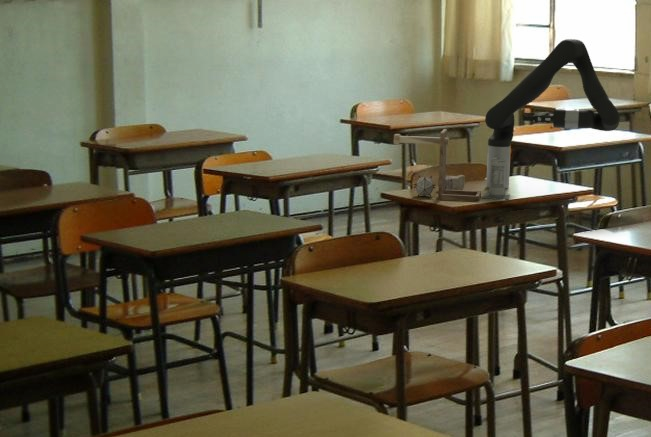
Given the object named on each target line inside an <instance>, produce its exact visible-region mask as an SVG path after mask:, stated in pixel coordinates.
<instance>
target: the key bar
mask: <svg viewBox="0 0 651 437" xmlns="http://www.w3.org/2000/svg"><path fill="white" fill-rule="evenodd" d="M449 143H450V138H449V137H447V138H445V140H444V145H446V146H447V145H449ZM400 144H417V145H418V144H420V145H421V144H423V145H440V137H439V136H438V137H437V136H436V137H435V136H413V135H402V134H400V133H394V134H393V145H400Z"/></svg>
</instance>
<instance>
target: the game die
mask: <svg viewBox="0 0 651 437" xmlns="http://www.w3.org/2000/svg"><path fill="white" fill-rule="evenodd" d="M417 176H418V179H417V181H416V183H414V184H413V185H414V189H415V190H416V192H417V197H420V196H429V197H430V198H432V195H431V194H432V192H433V191H434V189H436V187H435V186H436V184H434V182H433V180H432V178H433V175H431V176H429V177H428V176H427V177H424V176H423V177H422V176H420V175H417Z"/></svg>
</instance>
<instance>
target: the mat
mask: <svg viewBox="0 0 651 437" xmlns="http://www.w3.org/2000/svg"><path fill="white" fill-rule="evenodd" d="M509 196H510V194H504V195H503V197H491V196H490V194H489V193H484V194H483V196H482V200H485V199H486V200H500V199H505V200H504V201H509V200H510V197H509Z"/></svg>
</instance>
